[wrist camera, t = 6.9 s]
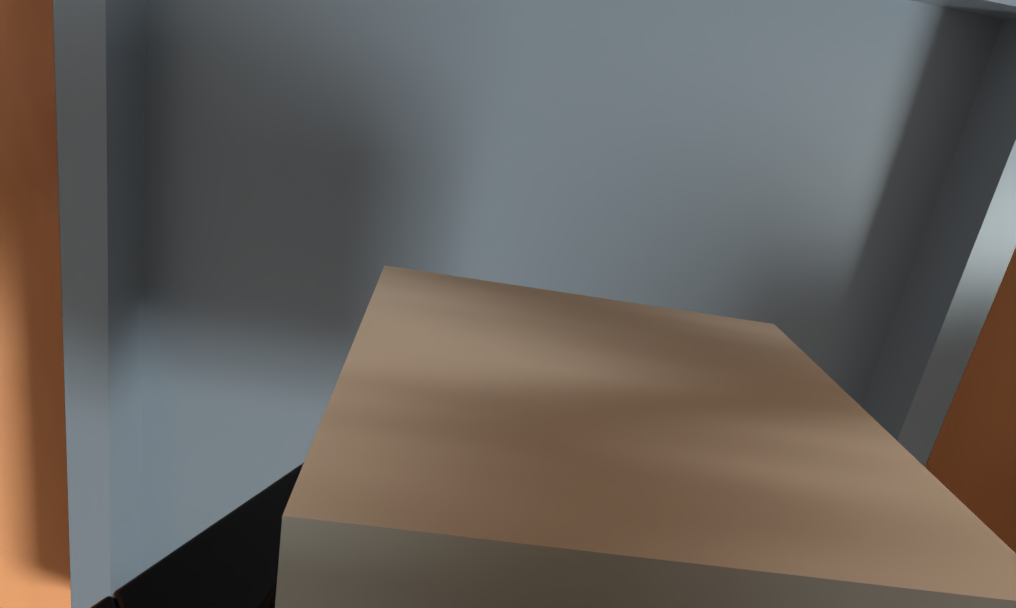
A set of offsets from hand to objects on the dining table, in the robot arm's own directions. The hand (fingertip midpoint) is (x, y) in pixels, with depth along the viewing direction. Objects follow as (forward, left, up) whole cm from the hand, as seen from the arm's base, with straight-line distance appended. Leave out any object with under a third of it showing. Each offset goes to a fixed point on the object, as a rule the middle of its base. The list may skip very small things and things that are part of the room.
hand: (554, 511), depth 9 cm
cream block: (0, 0, -1) cm, 1 cm away
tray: (0, 0, -6) cm, 6 cm away
